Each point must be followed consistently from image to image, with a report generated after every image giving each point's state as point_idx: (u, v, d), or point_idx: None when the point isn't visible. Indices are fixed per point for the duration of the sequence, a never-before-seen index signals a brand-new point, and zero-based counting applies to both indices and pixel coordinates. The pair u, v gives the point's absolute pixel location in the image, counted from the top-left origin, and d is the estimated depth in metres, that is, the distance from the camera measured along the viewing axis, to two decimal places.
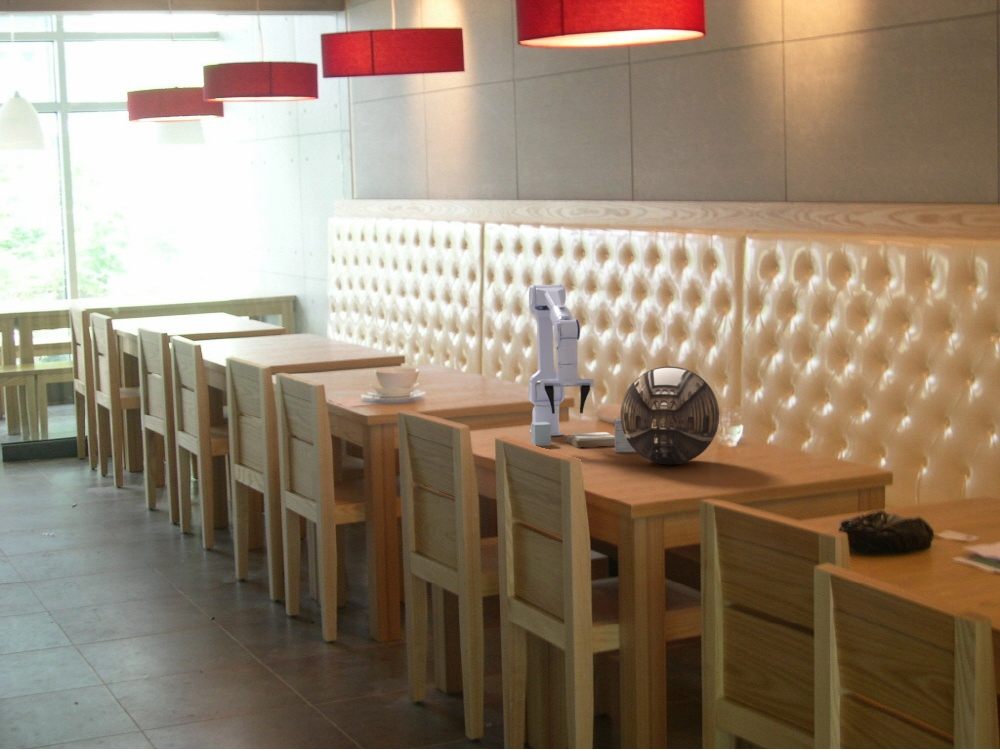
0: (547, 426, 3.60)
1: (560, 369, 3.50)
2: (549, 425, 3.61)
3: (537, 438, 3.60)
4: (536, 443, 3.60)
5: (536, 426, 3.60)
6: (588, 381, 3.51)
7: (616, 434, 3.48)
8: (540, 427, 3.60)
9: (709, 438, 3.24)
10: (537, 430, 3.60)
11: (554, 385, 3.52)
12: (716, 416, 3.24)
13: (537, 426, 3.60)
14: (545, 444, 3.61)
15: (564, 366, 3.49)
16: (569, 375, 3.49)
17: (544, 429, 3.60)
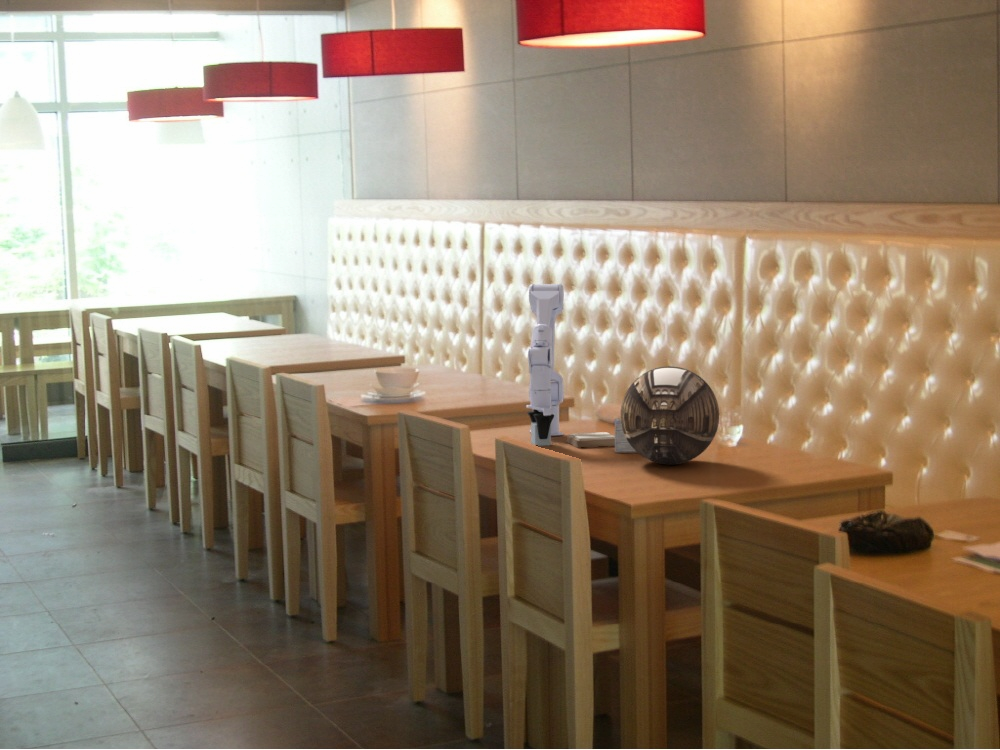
0: None
1: None
2: None
3: (537, 438, 3.60)
4: (536, 443, 3.60)
5: (536, 426, 3.60)
6: (541, 409, 3.56)
7: (616, 434, 3.48)
8: None
9: (709, 438, 3.24)
10: (537, 430, 3.60)
11: None
12: (716, 416, 3.24)
13: None
14: (545, 444, 3.61)
15: (530, 391, 3.61)
16: (531, 400, 3.61)
17: None
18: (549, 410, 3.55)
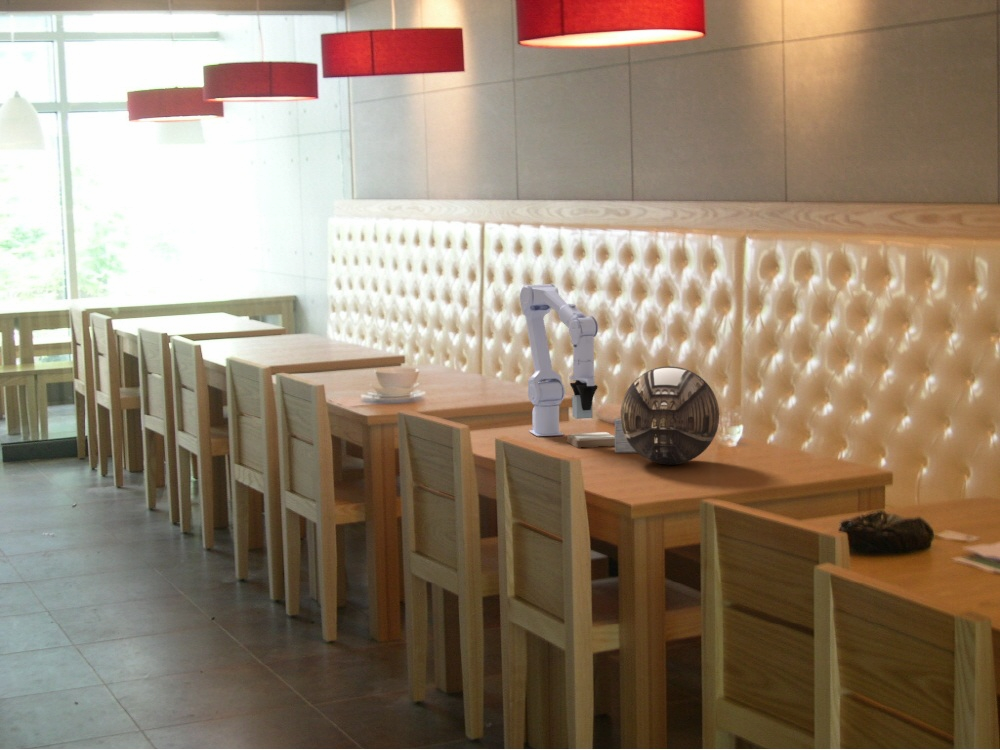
0: None
1: None
2: None
3: (578, 411, 3.59)
4: (578, 416, 3.59)
5: (578, 399, 3.58)
6: (585, 380, 3.54)
7: (616, 434, 3.48)
8: None
9: (709, 438, 3.24)
10: (578, 403, 3.58)
11: (579, 380, 3.64)
12: (716, 416, 3.24)
13: (579, 399, 3.58)
14: (587, 417, 3.59)
15: (573, 362, 3.60)
16: (574, 371, 3.59)
17: None
18: (593, 381, 3.53)
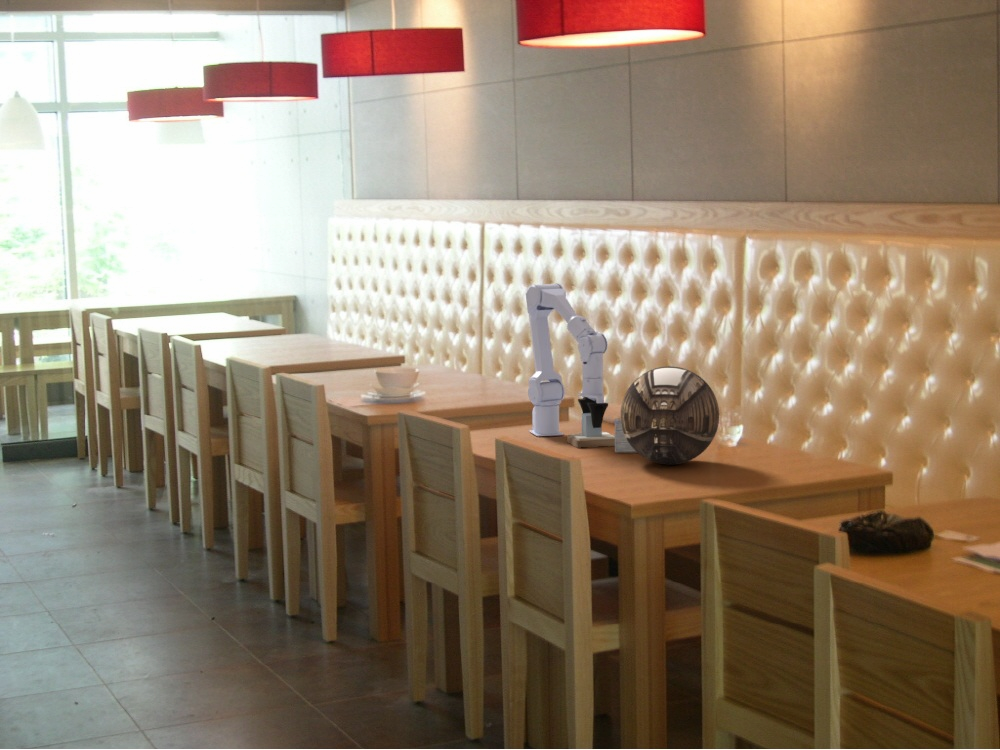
0: None
1: None
2: None
3: (588, 429, 3.59)
4: (587, 434, 3.59)
5: (587, 417, 3.59)
6: (594, 397, 3.55)
7: (616, 434, 3.48)
8: (591, 418, 3.59)
9: (709, 438, 3.24)
10: (588, 421, 3.59)
11: (588, 396, 3.64)
12: (716, 416, 3.24)
13: (588, 417, 3.59)
14: (596, 435, 3.60)
15: None
16: (583, 388, 3.59)
17: None
18: (602, 398, 3.54)
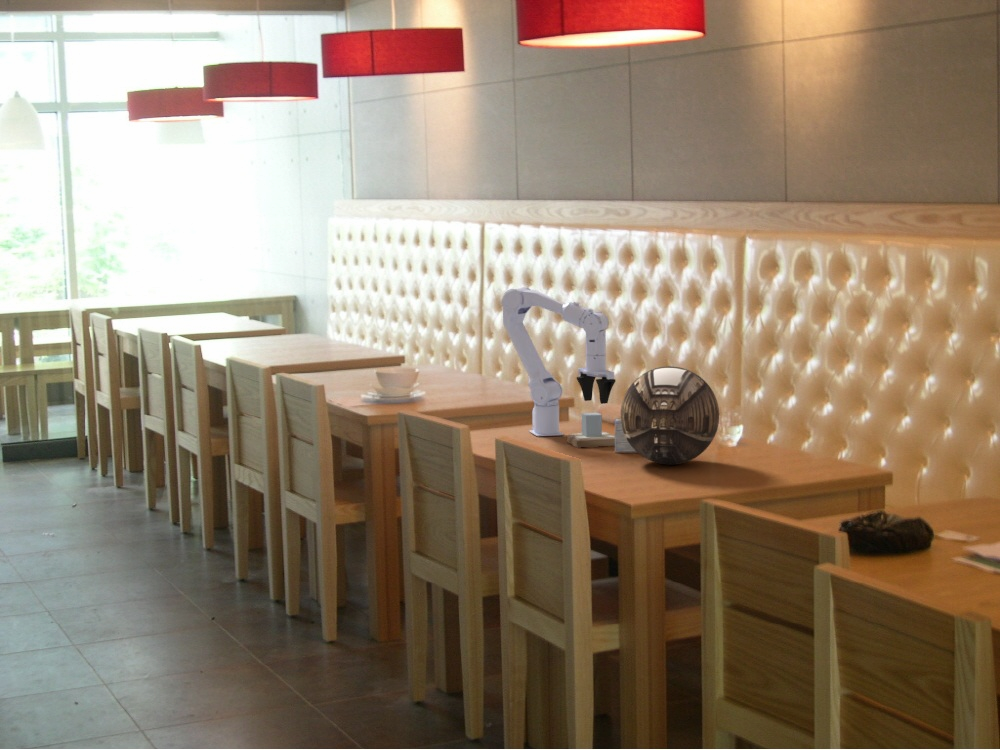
0: (598, 416, 3.59)
1: None
2: (600, 416, 3.59)
3: (588, 429, 3.59)
4: (587, 434, 3.59)
5: (587, 417, 3.59)
6: (604, 373, 3.65)
7: (616, 434, 3.48)
8: (591, 418, 3.59)
9: (709, 438, 3.24)
10: (588, 421, 3.59)
11: (587, 374, 3.73)
12: (716, 416, 3.24)
13: (588, 417, 3.59)
14: (596, 435, 3.60)
15: (586, 356, 3.69)
16: (588, 366, 3.68)
17: (595, 420, 3.59)
18: (613, 374, 3.65)
